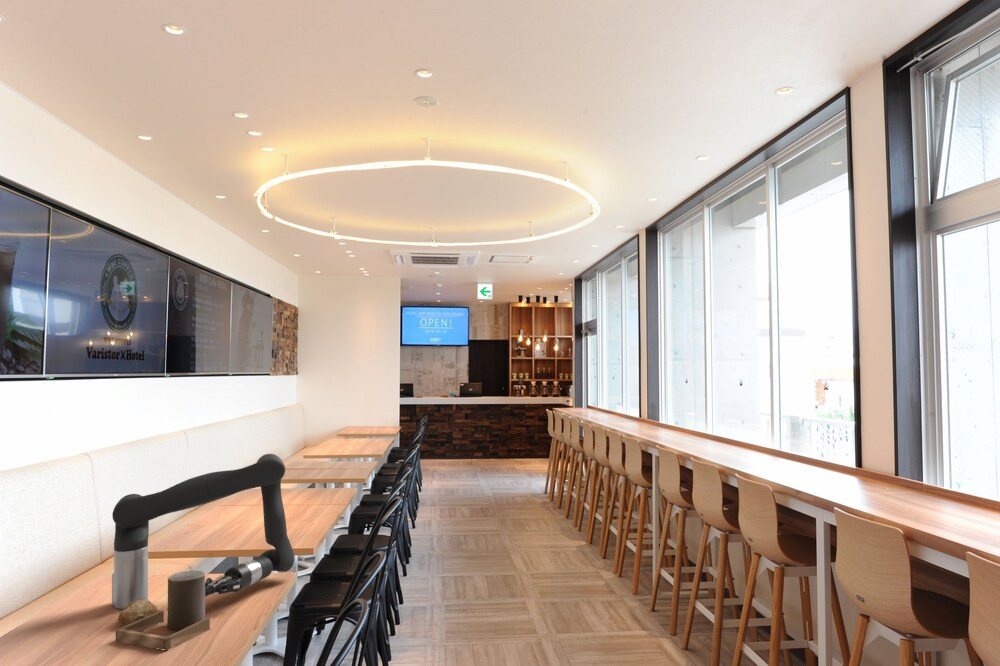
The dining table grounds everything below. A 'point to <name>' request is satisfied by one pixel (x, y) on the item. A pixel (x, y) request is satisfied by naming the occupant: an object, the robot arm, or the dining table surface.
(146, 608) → the bread roll
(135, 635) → the brown wooden u-shaped frame
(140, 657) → the dining table surface
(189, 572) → the pillar candle
